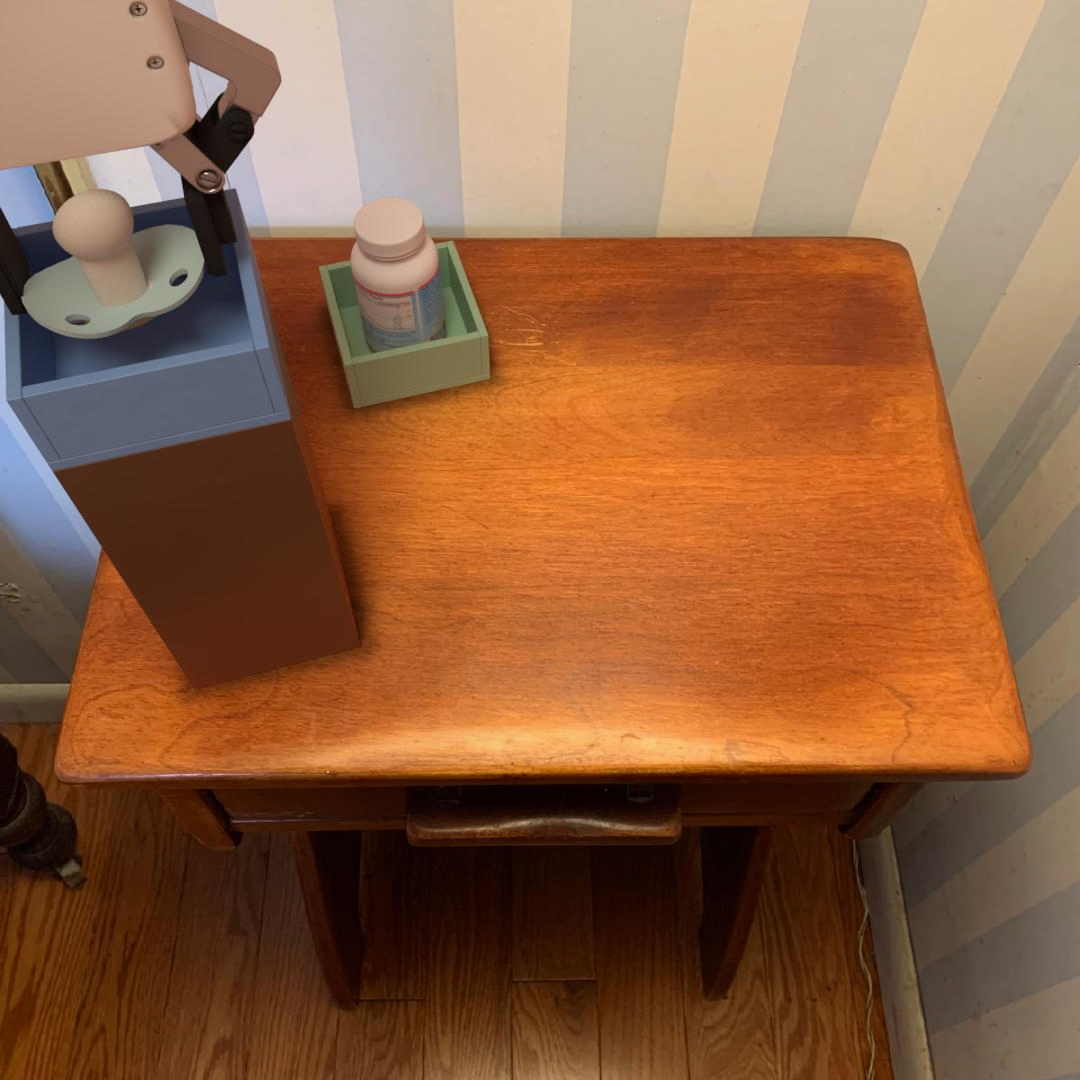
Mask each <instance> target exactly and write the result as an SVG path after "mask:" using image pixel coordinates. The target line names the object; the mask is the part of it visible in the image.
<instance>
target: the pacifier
mask: <svg viewBox="0 0 1080 1080" xmlns="http://www.w3.org/2000/svg"><path fill="white" fill-rule="evenodd" d="M130 207H131V206H130V204H129V201H127V199H126V198H125V197H124V196H122V194H119V192H116V191H113V190H111V189H105V188H94V189H93V188H92V189H88V190H84V191H81V192H79V193H76V194H75V195H73V196H71V197H70V198H68V199H67V200H66V201H65V202H64V203H63V204H62V205H61V206H60V207H59V208H58V210H57V211H56V213H55V214H54V218H53V220H52V221H53V234H54V237H55V239H56V241H57V242H58V244H59V245H60V246H61V247H62V248H63V249H64V250H65V251H67V252H68V253H70V254H71V255H73V256H72V257H71V258H69V259H67V260H65V261H62V262H59V263H57V264H55V265H53V266H51V267H48V268H46V269H44V270H43V271H41V272H39V273H37V274H35V275H34V276H33V277H31V278H30V279H28V281H27V282H26V284H25V285H24V295H23V297H22V296H21V298H22V303H23V304H24V306H25V308H26V310H27V311H28V313H29V315H30V316H31V317H32V318H33V319H34V320H35V321H37V322H38V323H39V324H40V325H42V326H44V327H46V328H47V329H49V330H51V331H53V332H56V333H58V334H62V335H65V336H69V337H74V338H82V339H96V338H102V337H107V336H111V335H113V334H116V333H119V332H122V331H126V330H129V329H133V328H136V327H138V326H140V325H143V324H145V323H147V322H148V321H150V320H152V319H153V318H155V317H157V316H158V315H160V314H164V313H167V312H169V311H171V310H173V309H175V308H177V307H178V306H180V305H181V304H183V303H184V302H185V301H186V300H187V299H188V298H189V297H190V296H191V295H192V294H193V293H194V292H195V290H196V289H197V287H198V286H199V284H200V282H201V280H202V278H203V275H204V271H205V266H206V264H205V261H204V258H203V255H202V252H201V249H200V246H199V243H198V240H197V237H196V234H195V231H193V230H192V229H190V228H187V227H185V226H178V225H167V224H166V225H162V226H156V227H152V228H149V229H146V230H143V231H140V232H137V233H134V234H132V233H133V228H134V219H133V214H132V210H131V208H130ZM182 274H188V276H187V278H186V280H185V281H184V282H183V283H182V284H181V285H179V286H175V287H173V286H171V285H172V283H173V282H174V281H175V280H176V278H177V277H178V276H180V275H182ZM78 322H84V323H85V324H86V325H73V324H70V323H78Z"/></svg>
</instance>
